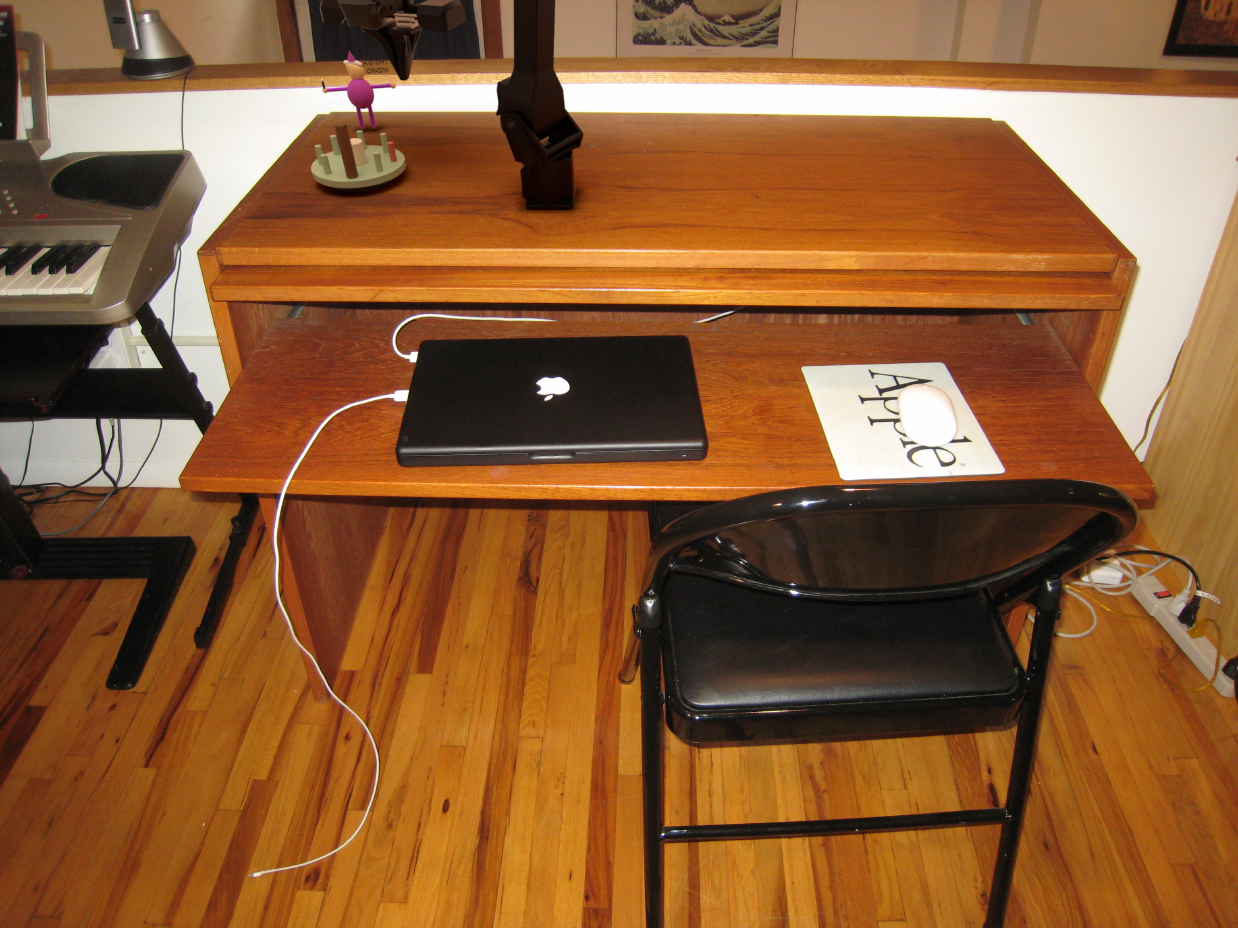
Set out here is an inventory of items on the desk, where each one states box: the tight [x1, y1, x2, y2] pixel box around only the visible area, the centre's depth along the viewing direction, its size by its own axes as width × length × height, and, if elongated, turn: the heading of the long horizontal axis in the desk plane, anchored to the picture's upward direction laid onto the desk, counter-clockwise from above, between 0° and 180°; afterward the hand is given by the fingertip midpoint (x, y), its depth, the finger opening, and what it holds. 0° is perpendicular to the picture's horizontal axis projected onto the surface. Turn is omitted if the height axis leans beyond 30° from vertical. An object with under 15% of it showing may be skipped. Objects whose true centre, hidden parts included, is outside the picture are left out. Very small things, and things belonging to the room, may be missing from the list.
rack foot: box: [332, 179, 393, 193], centre depth 117 cm, size 9×9×1 cm
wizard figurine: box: [320, 50, 397, 131], centre depth 128 cm, size 11×3×12 cm, turn 99°
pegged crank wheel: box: [310, 121, 407, 189], centre depth 114 cm, size 13×13×8 cm
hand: (404, 80), depth 113 cm, fingers closed
